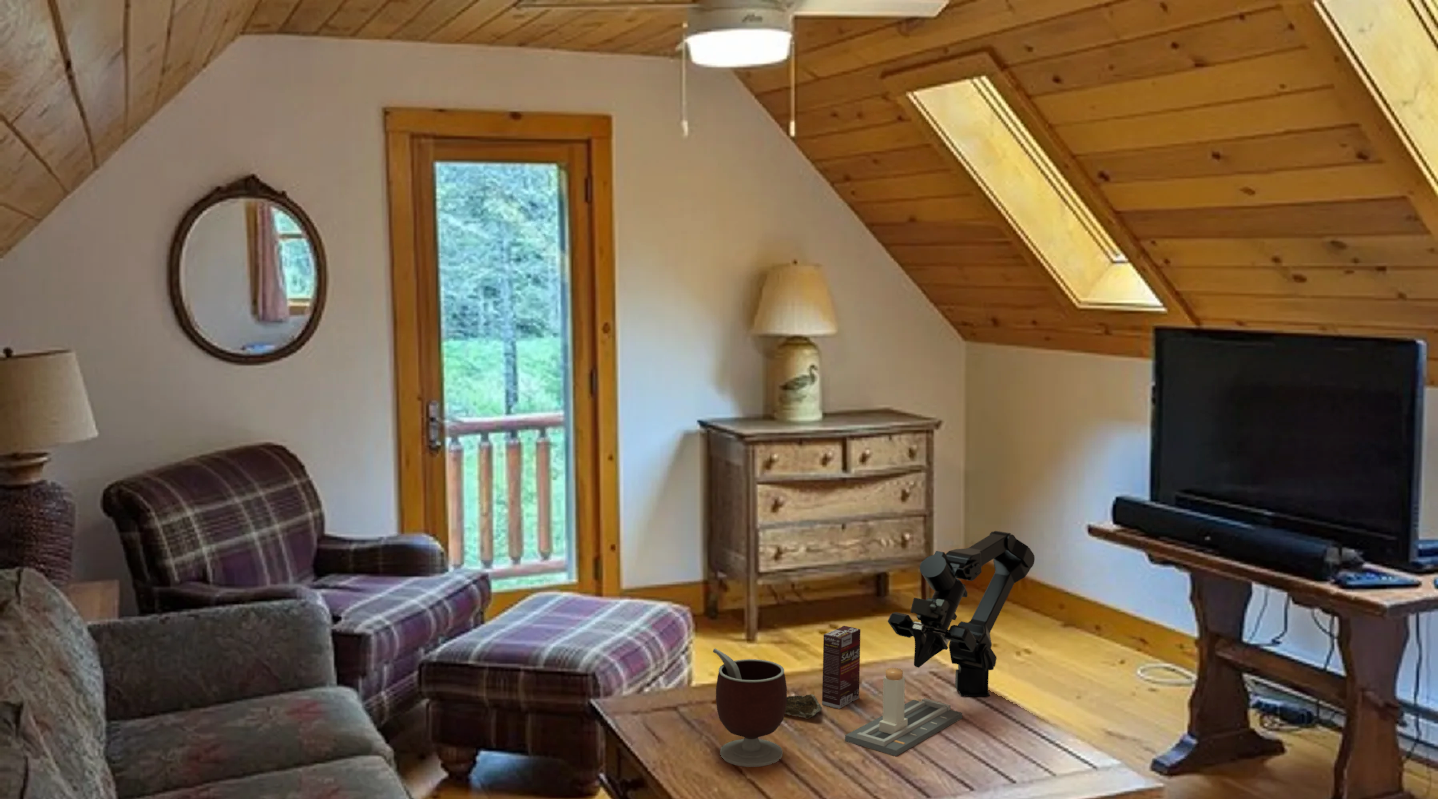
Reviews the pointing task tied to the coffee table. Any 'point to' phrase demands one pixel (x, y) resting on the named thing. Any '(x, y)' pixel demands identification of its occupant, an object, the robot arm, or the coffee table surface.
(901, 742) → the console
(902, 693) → the fader knob
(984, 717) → the coffee table surface
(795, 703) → the rock sample
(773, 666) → the mate gourd
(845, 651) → the supplement box
